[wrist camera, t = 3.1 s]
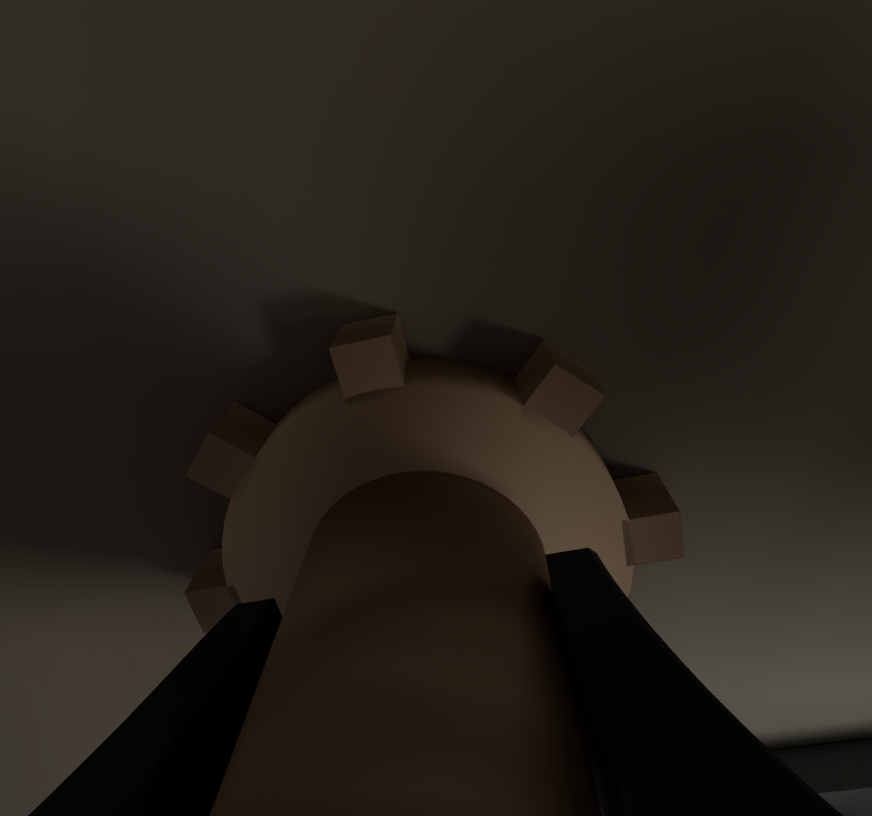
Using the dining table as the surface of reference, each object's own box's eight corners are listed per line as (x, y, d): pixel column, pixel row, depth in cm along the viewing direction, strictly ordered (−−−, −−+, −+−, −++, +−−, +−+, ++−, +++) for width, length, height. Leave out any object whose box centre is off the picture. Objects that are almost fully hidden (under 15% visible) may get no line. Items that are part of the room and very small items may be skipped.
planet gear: (637, 261, 9) (936, 461, 3) (674, 666, 12) (860, 1115, 7) (130, 370, 10) (-294, 665, 4) (286, 719, 13) (159, 1151, 8)
